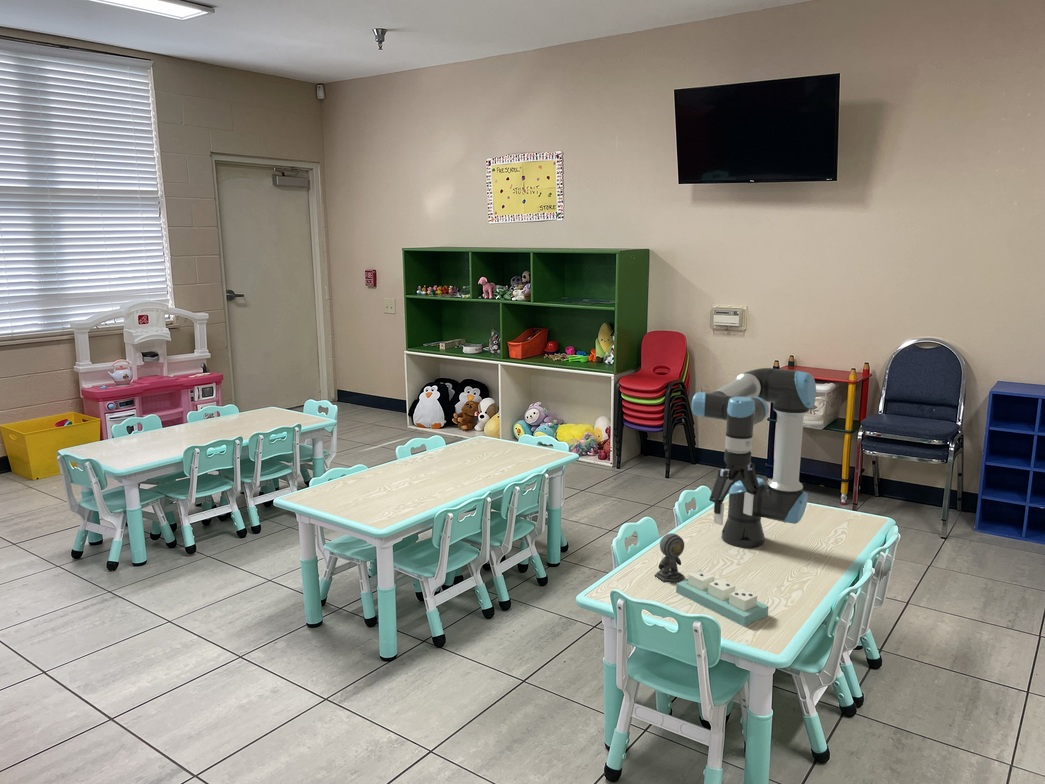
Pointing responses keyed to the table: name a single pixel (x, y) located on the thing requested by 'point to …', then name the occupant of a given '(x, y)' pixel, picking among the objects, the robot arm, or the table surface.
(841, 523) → the table surface
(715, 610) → the board
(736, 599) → the tile
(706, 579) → the tile
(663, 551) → the figurine
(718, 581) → the tile
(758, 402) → the robot arm
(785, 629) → the table surface
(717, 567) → the table surface
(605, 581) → the table surface
